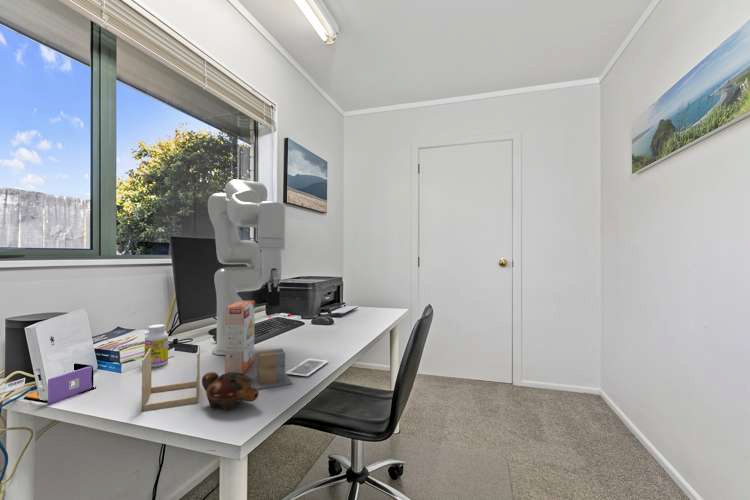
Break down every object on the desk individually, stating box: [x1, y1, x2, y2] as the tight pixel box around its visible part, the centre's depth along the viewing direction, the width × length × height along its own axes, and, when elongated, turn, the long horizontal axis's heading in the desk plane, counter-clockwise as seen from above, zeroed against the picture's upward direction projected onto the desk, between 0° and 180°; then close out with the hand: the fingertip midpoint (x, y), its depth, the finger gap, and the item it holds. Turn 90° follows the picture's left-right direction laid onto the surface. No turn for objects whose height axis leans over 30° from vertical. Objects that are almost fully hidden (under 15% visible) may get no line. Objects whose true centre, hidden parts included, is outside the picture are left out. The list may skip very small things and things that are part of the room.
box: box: [256, 347, 286, 385], centre depth 100 cm, size 5×7×8 cm
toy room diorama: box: [23, 362, 97, 404], centre depth 90 cm, size 12×12×7 cm
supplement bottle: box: [144, 323, 169, 368], centre depth 114 cm, size 7×7×13 cm
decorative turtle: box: [201, 371, 260, 412], centre depth 83 cm, size 10×15×8 cm, turn 79°
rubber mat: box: [250, 371, 293, 391], centre depth 100 cm, size 10×10×1 cm
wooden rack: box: [141, 342, 201, 412], centre depth 88 cm, size 12×12×12 cm
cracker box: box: [224, 300, 256, 375], centre depth 111 cm, size 14×6×21 cm, turn 7°
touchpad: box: [285, 358, 329, 377], centre depth 110 cm, size 8×15×2 cm, turn 163°
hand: (270, 303), depth 100 cm, fingers open, 9 cm apart
